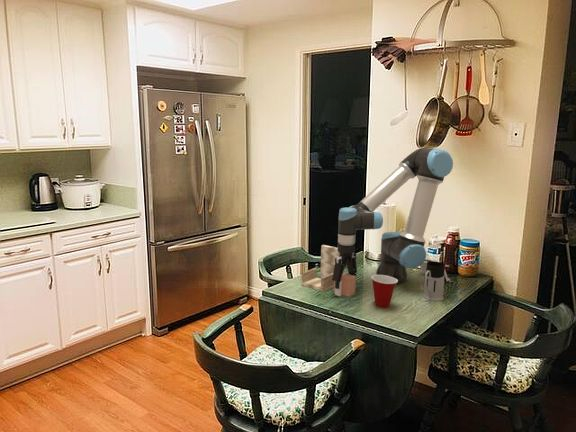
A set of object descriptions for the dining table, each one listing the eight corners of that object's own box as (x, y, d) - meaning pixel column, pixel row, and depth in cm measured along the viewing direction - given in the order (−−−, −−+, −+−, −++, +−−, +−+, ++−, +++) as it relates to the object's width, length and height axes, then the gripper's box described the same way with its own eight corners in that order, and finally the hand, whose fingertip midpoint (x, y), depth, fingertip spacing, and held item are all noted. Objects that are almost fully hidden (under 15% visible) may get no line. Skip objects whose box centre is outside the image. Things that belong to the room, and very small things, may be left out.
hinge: (451, 282, 222) (447, 264, 219) (443, 286, 221) (439, 268, 218) (429, 271, 238) (424, 254, 235) (421, 275, 236) (417, 258, 233)
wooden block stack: (343, 281, 220) (344, 249, 217) (323, 291, 207) (324, 256, 204) (322, 276, 228) (323, 244, 225) (301, 285, 215) (302, 251, 212)
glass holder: (446, 296, 204) (449, 263, 201) (433, 305, 193) (436, 271, 190) (427, 291, 209) (430, 259, 206) (413, 300, 199) (416, 266, 196)
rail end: (355, 293, 206) (355, 276, 204) (349, 296, 202) (349, 279, 200) (339, 289, 211) (340, 272, 209) (333, 292, 207) (334, 275, 205)
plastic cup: (401, 309, 189) (403, 281, 187) (377, 311, 186) (378, 283, 184) (388, 299, 199) (389, 272, 197) (365, 301, 196) (366, 274, 194)
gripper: (352, 237, 213) (349, 283, 217) (324, 246, 196) (323, 296, 200) (366, 240, 208) (363, 287, 212) (340, 249, 191) (337, 301, 195)
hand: (344, 292), depth 206 cm, fingers open, 9 cm apart
